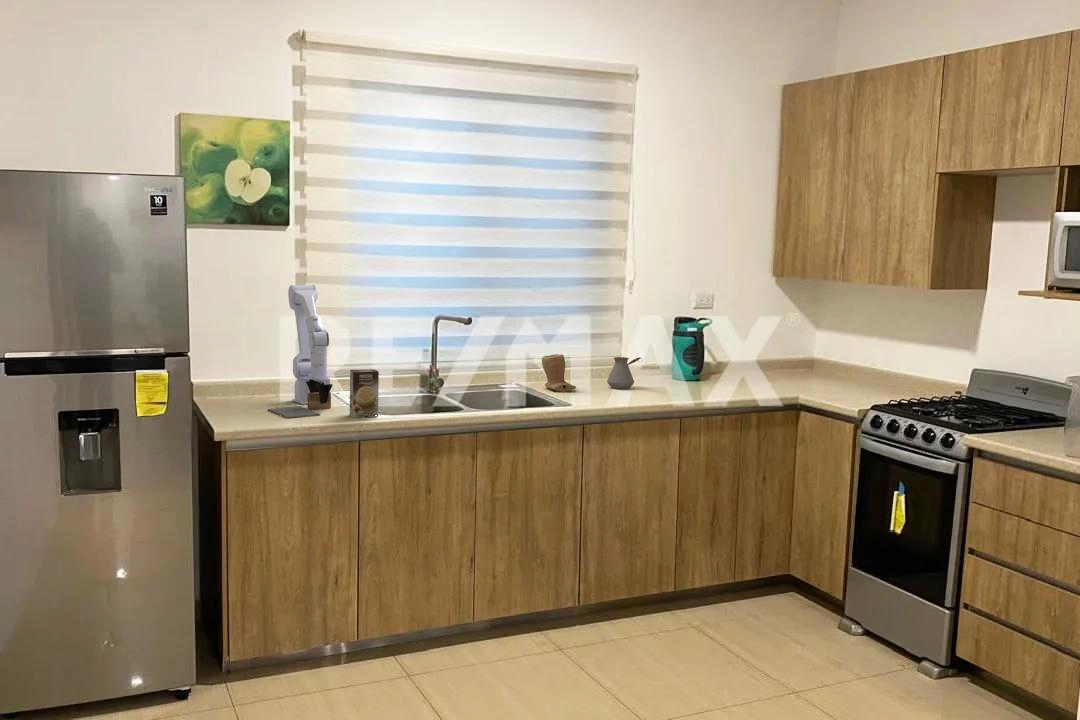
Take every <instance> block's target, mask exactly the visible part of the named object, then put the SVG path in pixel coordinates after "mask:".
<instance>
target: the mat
mask: <svg viewBox="0 0 1080 720" xmlns="http://www.w3.org/2000/svg"><path fill="white" fill-rule="evenodd" d="M267 411H268V412H270V411H271V412H270V413H273V414H275V413H276V414H275V415H278V416H280V415H281V417H282V416H283V418H285V419H287V418H289V419H296V418H307V417H318V416H321V413H319V412H317V411H315V410H309V409H307V407H304V406H301V405H295V406H285V407H284V406H283V407H272V408H267Z"/></svg>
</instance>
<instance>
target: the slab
mask: <svg viewBox="0 0 1080 720" xmlns="http://www.w3.org/2000/svg"><path fill="white" fill-rule="evenodd" d="M306 405H307V407H306V408H307V409H309V410H312V411H318V410H319V411H321V410H329V409H330V408H331V409H332V392H331V391H330V392H329V395H328V400H327V403H322V404H321V403H320V397H319V392H315V393H307V404H306Z"/></svg>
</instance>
